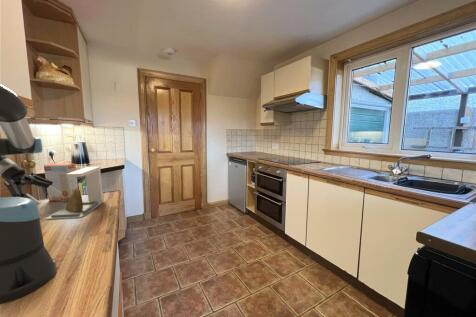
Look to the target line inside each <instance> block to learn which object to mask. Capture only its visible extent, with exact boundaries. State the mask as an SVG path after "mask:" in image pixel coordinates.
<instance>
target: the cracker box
mask: <svg viewBox="0 0 476 317" xmlns="http://www.w3.org/2000/svg"><path fill="white" fill-rule="evenodd" d="M43 169H44V176H45V178H44V179H47V180H49V181H52V182H53V184H52V186H53V187H55V188H56V189H57V190H58V191H60V192H61V193H62V194H61V195H60V196H59V197H56V196H55V195H54V194H52V193H51V192H49V191H48V190H47V189H46V190H47V196H48V201H49V202H68V200H69V199H70V197H71V195H72V193H73V192H74V190H75V189H77V190H79V183H78V177H66V174H68V173H71V172H74V171H77V168H76V163H49V164H44V165H43Z"/></svg>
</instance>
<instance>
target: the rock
mask: <svg viewBox="0 0 476 317" xmlns="http://www.w3.org/2000/svg"><path fill="white" fill-rule="evenodd" d="M83 202H84V201H83V198H82V194H81V190H80V189H78V190H77V189H75V190H74V192H73V193H72V195H71V197H70V199H69V200H68V201H66V204H65V207H66V208H65V207H64V208H65V209H66V210H67V211H72V212H81V211H83Z"/></svg>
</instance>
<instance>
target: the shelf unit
mask: <svg viewBox="0 0 476 317" xmlns="http://www.w3.org/2000/svg"><path fill="white" fill-rule="evenodd" d="M101 169H102V168H101V166H86V167H82V168H80V169H78V170H77V169H76V171H74V172H71V173H68V174H66V177H77V178H81V177H85V181H86V182H85V183H86V190H87V198H88V201H82V202H83V211H81V212H72V211H67V210H66V209H65V208H66V206H65V207H63V208H62V209H59V210H57V211H56V212H54V213H52V214H51V215H49V216H47V217H46V218H44V221H48V220H64V219H68V220H69V219H81V218H83V217H84V216H86V215H87V214H89V213H90V212H91V211H93V210H94V209H96V208H97V207H98V206H100V205H101V204H102V203H104V201H105V200H104V192H103V182H102V173H101V172H102V171H101Z"/></svg>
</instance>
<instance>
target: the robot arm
mask: <svg viewBox="0 0 476 317" xmlns="http://www.w3.org/2000/svg"><path fill="white" fill-rule="evenodd" d="M27 114H28V109H27V106H26V103H25V102H24V101H23V99H22V98H21V97H20V96H19V95H18V94H16V93H15V92H14V91H13V90H11V89H9V87H6V86H4V85H3V84H0V128H1V130H2V131H3V133H4V135H5V138H4V137H2V138H0V177H1V178H2V179H3V180H5V181H4V182H3V185H4V186H6V187H7V190H8V191H9V193H10V195H11V196H8V197H7V196H6V197H0V305H2V304H5V303H9V302H12V301H15V300H17V299H19V298H22V297H23V296H27V295H28V294H30V293H33V292H34V291H36V290H38V289H39V288H41V287H42V286H44V285H45V284H46V283H47V282H49V281H50V280H51V279H52V278H53V277H54V276H55V275H56V272H57V265H56V260H55V259H54V258H53V257H52V256H51V254H50V252H48V250H47V248H46V247H45V242H44V236H43V231H42V230H43V229H42V224H41V219H40V218H41V213H40V211H39V208H38V206H39V205H40V204H41V202H40V201H39V200H38V199H36V198H35V197H33V196H32V195H31V194H29V193H26V190H25V186H29V185H30V186H31V185H33V186H38V187H42V188H45V189H46V190H48V191H49V192H51V193H52V194H54V195H55V196H56V197H59V196H60V195H61V194H62V193H61V192H60V191H58V190H57V189H56V188H55V187H53V186H52V184H53V182H52V181H49V180H47V179H46V178H44V177H41V176H40V175H37V174H36V173H34V172H30V173H29V174H27V173H26V170H25V169H24V168H23V167H22V166H20V165H18V163H16V162H15V161H13V160H12V159H11V158H8V157H7V156H13V155H15V156H16V155H29V154H31V155H33V154H40V153H42V152H43V143H42V139H41V138H40V137H35V136H33V132H32V130H31V127H30V124H29V122H28V119H27V117H26V116H27ZM48 191H47V192H48Z"/></svg>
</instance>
